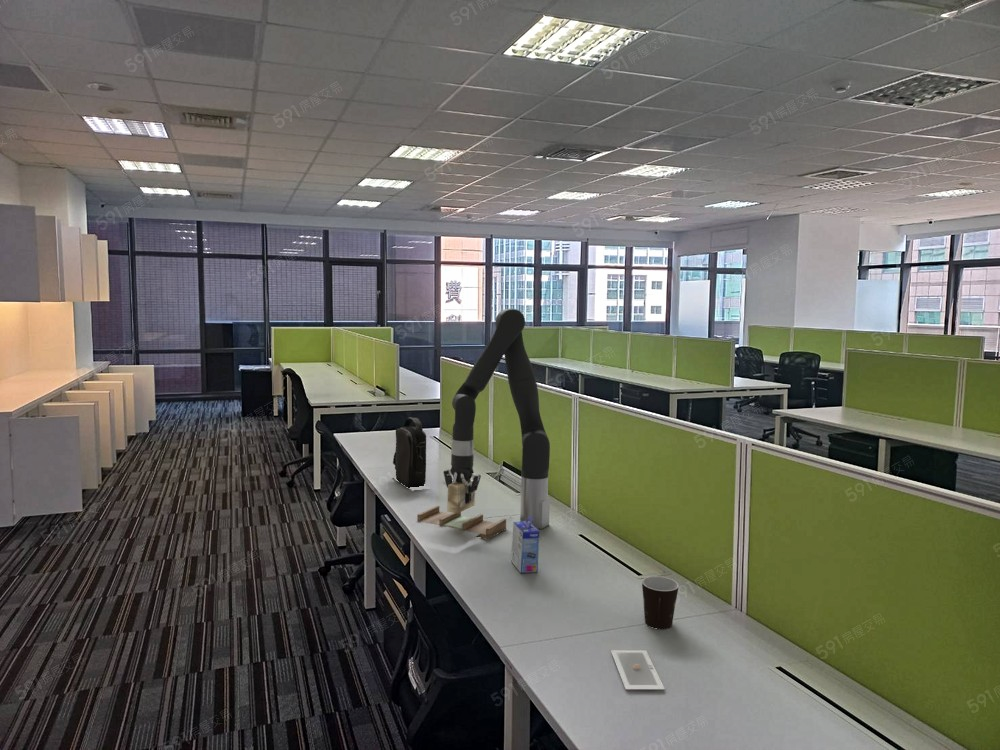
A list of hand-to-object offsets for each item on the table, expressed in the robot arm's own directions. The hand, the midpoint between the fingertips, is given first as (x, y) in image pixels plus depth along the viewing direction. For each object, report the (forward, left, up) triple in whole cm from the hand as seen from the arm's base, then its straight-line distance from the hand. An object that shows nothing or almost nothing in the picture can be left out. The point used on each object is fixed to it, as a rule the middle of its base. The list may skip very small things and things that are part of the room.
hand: (461, 501), depth 229 cm
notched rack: (0, 0, -9) cm, 9 cm away
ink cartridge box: (-34, +20, -9) cm, 41 cm away
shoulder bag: (+46, -36, -9) cm, 59 cm away
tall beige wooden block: (0, 0, -2) cm, 2 cm away
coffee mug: (-77, +36, -9) cm, 86 cm away
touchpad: (-79, +58, -9) cm, 99 cm away
